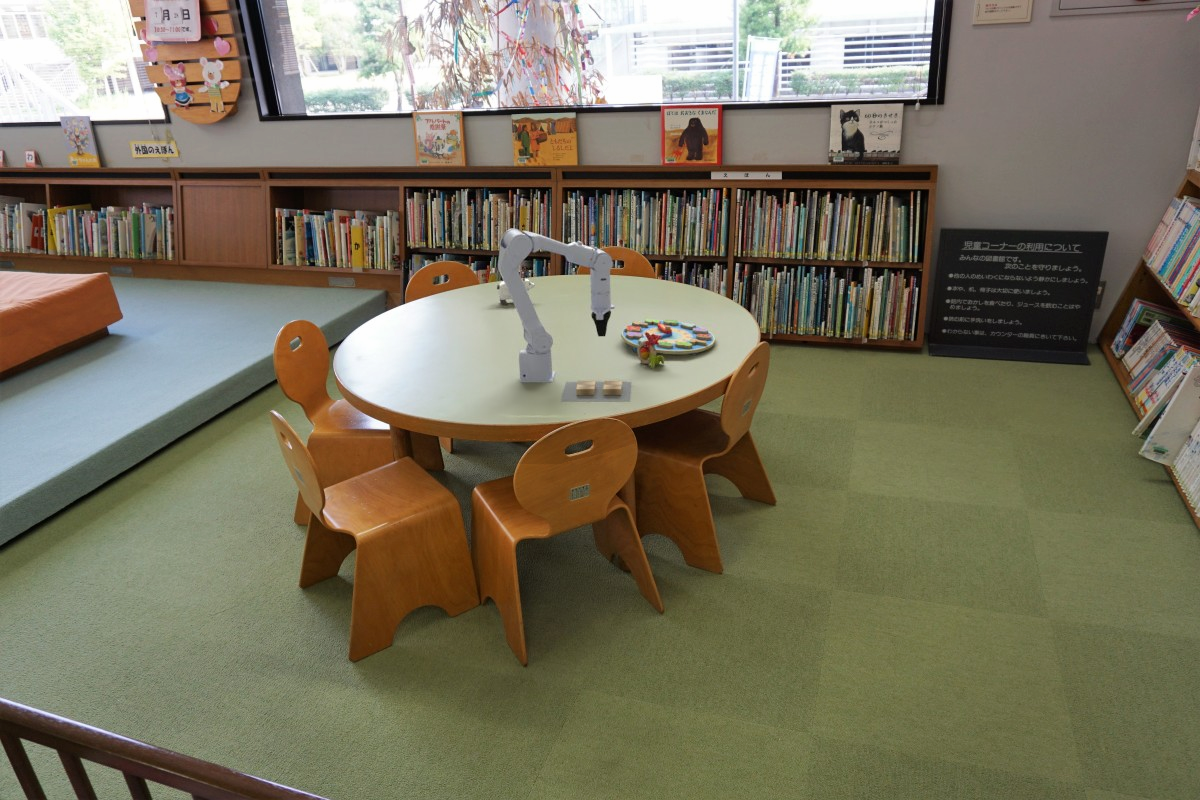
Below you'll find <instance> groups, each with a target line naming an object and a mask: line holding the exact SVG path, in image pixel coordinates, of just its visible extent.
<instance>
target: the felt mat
mask: <svg viewBox="0 0 1200 800" xmlns="http://www.w3.org/2000/svg"><path fill="white" fill-rule="evenodd" d="M577 384H578V381H565V384H564V387H563V391H562V396H561V399H560V402H628V403H629V402H631V393H632V392H631V391H632V381H622V393H621V395H603V387H604V381H596V389H595V394H594V395H576V388H577Z"/></svg>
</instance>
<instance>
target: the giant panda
mask: <svg viewBox="0 0 1200 800" xmlns="http://www.w3.org/2000/svg"><path fill="white" fill-rule="evenodd" d="M522 281H523V284H524V286H525V288H526V291H527V292H528V291H530V290H531V289H533V288H534V287H535V286H536V284H535V283H533V282H530V280H529V279H528V278H525V277H523V278H522ZM496 290H498V295H499V301H500V305H501V306H508V305H509V303H508V301H507V300H512V298H511V296H510V294H509V292H508V290H507V287H506V285H505V283H504V281H503V280H502V281H500V282H499V284H498V285H497V286H496Z"/></svg>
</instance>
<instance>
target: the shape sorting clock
mask: <svg viewBox="0 0 1200 800" xmlns="http://www.w3.org/2000/svg"><path fill="white" fill-rule="evenodd" d="M646 332H647V333H649V334H650V335H652V334H655V335H661V338H660V339H659V340H658V343H659V345H656V344H654V346H655V349H656V354H657V353H663V354H665V355H681V354H695V355H697V353H700V352H705V351H706V350H709V349H711V348H712V347H713V346H714V345H715V342H716V337H715V335H714V334H713V332H711V331H710V330H709V329H708V328H704V327H701V326H699V325H697V324H696V323H688V322H683V321H678V320H676V319H675V320H674V319H664V320H663V319H652V318H646V319H644V320H641V321H632V322H631V323H630V324H627V325H625V326H624V327H622V330H621V332H620V335H621V336H620V337H621V339H622V340H623V341H624V342H625V343H626V344H627V345H629V346H631V347H632V349H633V351H634V353H636V352H637V349H638V346H639V344H640V343H641V342H642V341H648V339H647V337H646V335H645V333H646ZM644 347H646V346H644Z"/></svg>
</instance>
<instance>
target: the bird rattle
mask: <svg viewBox="0 0 1200 800" xmlns="http://www.w3.org/2000/svg"><path fill="white" fill-rule="evenodd" d="M645 335H646V337H647V339H648V341H642V342H641V343H640V344H639V346H638V349H637V353H636V354H637V357H638V359H639V362H640V364H642V365H644V364H645V365H650V368H651V369H654V367H655V365H659V364H660V363H661V364H663V365H664V364H665V357H664V356H663V355H657V353H656V349H655V346H654V344H656V345H659V343H658V340H659V339H660V338H661V335H655V334H652V335H650V334H649V333H647V332H646V333H645ZM644 346H646V347H644Z"/></svg>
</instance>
